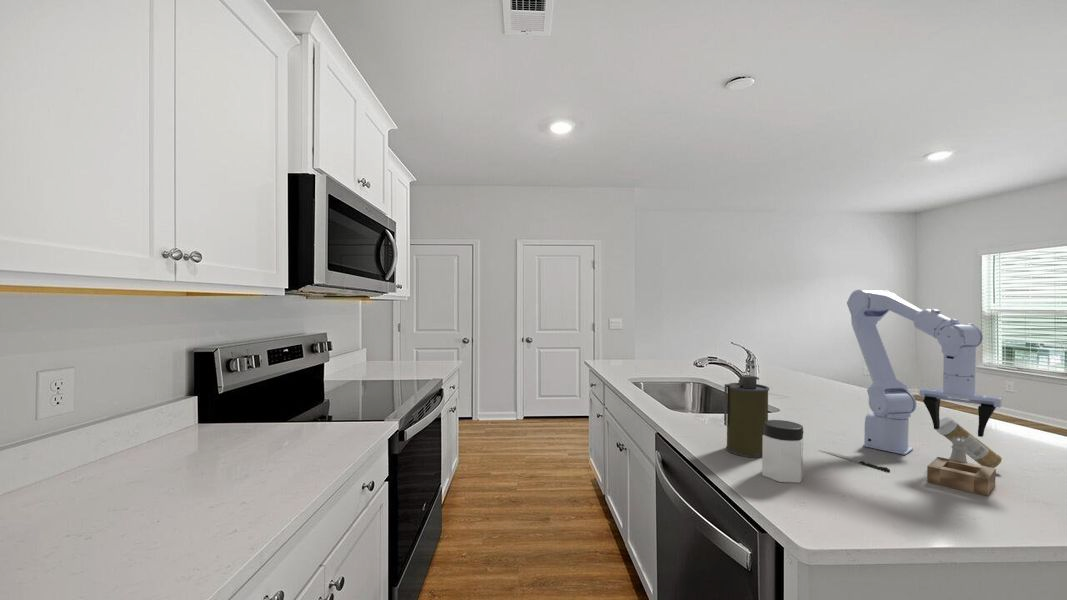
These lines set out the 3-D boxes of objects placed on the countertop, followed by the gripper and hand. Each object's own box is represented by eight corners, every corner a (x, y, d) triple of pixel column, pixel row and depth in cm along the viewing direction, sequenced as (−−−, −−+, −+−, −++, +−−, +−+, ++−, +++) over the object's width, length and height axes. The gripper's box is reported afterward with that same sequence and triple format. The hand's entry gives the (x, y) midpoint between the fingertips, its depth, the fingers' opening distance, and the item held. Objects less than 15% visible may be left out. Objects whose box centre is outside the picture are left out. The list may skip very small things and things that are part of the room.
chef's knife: (819, 449, 133) (812, 450, 132) (820, 445, 133) (812, 446, 132) (896, 472, 115) (888, 473, 114) (896, 467, 115) (888, 468, 114)
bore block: (927, 481, 109) (927, 466, 109) (937, 471, 115) (937, 456, 115) (987, 496, 101) (988, 479, 101) (995, 484, 107) (995, 468, 107)
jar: (812, 480, 109) (813, 427, 109) (788, 486, 106) (788, 431, 105) (777, 467, 117) (777, 417, 117) (753, 472, 114) (754, 421, 114)
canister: (760, 446, 134) (760, 373, 134) (775, 458, 123) (776, 380, 123) (719, 444, 135) (720, 372, 135) (731, 456, 125) (731, 379, 124)
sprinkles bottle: (999, 453, 117) (948, 413, 120) (1005, 463, 113) (952, 421, 116) (981, 463, 119) (931, 423, 122) (986, 473, 115) (934, 432, 119)
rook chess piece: (940, 467, 117) (942, 434, 117) (957, 467, 118) (959, 434, 117) (958, 475, 113) (960, 441, 112) (975, 474, 113) (977, 440, 113)
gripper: (916, 372, 118) (915, 428, 118) (998, 381, 107) (997, 442, 107) (923, 370, 123) (923, 423, 123) (1003, 377, 111) (1002, 436, 112)
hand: (958, 432), depth 115 cm, fingers open, 7 cm apart
